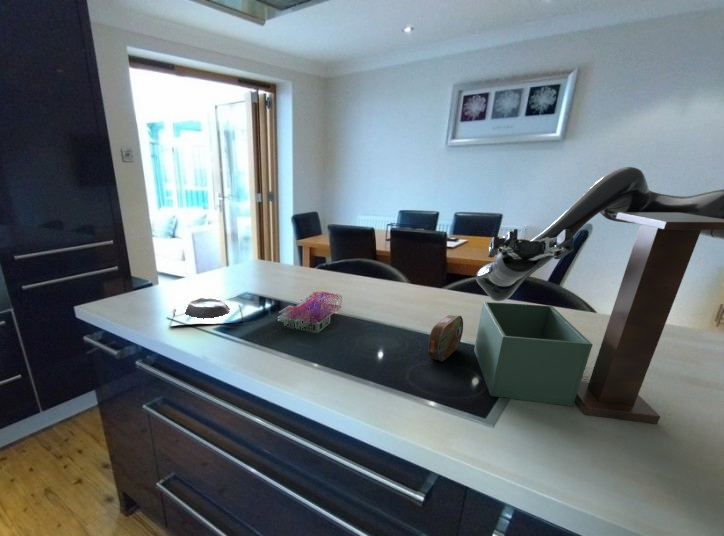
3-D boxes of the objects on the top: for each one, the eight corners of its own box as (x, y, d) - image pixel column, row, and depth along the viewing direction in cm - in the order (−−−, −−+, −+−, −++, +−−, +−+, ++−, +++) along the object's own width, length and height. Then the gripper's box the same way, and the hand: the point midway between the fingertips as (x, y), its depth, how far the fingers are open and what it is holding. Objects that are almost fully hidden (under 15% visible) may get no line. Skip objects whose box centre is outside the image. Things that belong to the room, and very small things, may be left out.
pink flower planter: (312, 298, 133) (312, 283, 131) (354, 303, 126) (355, 288, 124) (267, 326, 109) (266, 308, 107) (316, 335, 102) (316, 316, 100)
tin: (437, 367, 84) (442, 330, 81) (423, 362, 86) (427, 327, 83) (461, 345, 94) (467, 312, 91) (448, 342, 96) (453, 309, 93)
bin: (538, 356, 87) (552, 305, 83) (573, 406, 69) (592, 344, 64) (474, 350, 91) (483, 301, 86) (490, 396, 73) (502, 336, 68)
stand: (622, 388, 74) (686, 212, 62) (664, 431, 62) (754, 222, 49) (560, 381, 77) (610, 212, 64) (589, 421, 64) (657, 221, 52)
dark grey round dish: (169, 328, 110) (168, 315, 108) (176, 306, 128) (174, 295, 127) (243, 323, 112) (242, 310, 111) (239, 302, 131) (238, 291, 129)
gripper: (481, 245, 92) (500, 215, 76) (551, 246, 87) (586, 215, 72) (479, 276, 91) (497, 251, 75) (549, 279, 87) (584, 253, 71)
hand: (541, 233), depth 74 cm, fingers open, 8 cm apart
